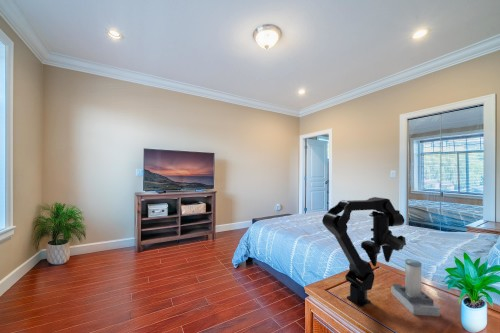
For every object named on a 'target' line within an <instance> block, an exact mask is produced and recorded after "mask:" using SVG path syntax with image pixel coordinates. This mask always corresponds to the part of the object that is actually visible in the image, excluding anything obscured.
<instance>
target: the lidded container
mask: <svg viewBox="0 0 500 333" xmlns="http://www.w3.org/2000/svg"><path fill="white" fill-rule="evenodd" d="M404 263H405V264H404V265H405V267H404V268H405V283H404V287H405V294H407V295H408V296H409V297H410V298H421V291H422V262H421V261H418V260H415V259H410V258H409V259H408V258H406V259H404Z"/></svg>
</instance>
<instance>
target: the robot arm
mask: <svg viewBox="0 0 500 333" xmlns="http://www.w3.org/2000/svg"><path fill="white" fill-rule="evenodd" d="M371 210H372V212H370V213H369V214H368V216H369V217H372V219H373V220H372V228H370V231H371V232H372V237H370V240H363V241H362V242H361V243H360V248H361V249H362V250H364V251H365V253H366V255H367V256H368V259H369V261H370V262H371V263H370V262H368V261H367V260H364V259H362V258H361V256H360V254H359V252H358V250H357V249H356V247H355V245H354V243H353V241H352V239H351V238H350V236H349V234H348V225H347V223H349V221H350V219H351V214H352V212H353V211H371ZM341 212H342V214H341V215H339V214H340V213H341ZM404 223H405V218H404V216H403V214H401V212H400V210H398V209H395V207H394V205H393V204H392V201H391V200H390V198H384V197H377V196H374V197H373V196H372V197H370V198H368V199H364V200H362V199H360V200H358V199H356V200H346V199H342V200H339V202H338V203H337V204H336V205H335V206H333V207H331V208H329V209H328V211H327V212H326V213H325V214H324V215H323V217H322V225H323V226H324V227H325V228H326V229H327V230H328V231H329V233H331V234H332V235H333V236H334V237H335V239H336V242H337V243H338V244H339V246H340V248H341V250H342V252H343V253H344V255H345V257H346V259H347V261H348V263H349V264H348V268H349V270H348V272H347V273H346V275H345V276H344V277H345V281H346V282H348V283H350V284H349V295H347V296H346V299H347V300H349V301H350V302H353V303H354V304H355V305H357V306H359V307H364V306H365V305H368V304H371V300H370V299H368V291H370V290H372V289H373V286H374V282H375V273H374V272H375V270H374V269H373V267H376V266H377V261H378V255H379V254H381V249H382V253H383V258H384V260H385V262H386V263H390V260H391V258H392V257H391V256H392V254H393V252H394V251H398V252H399V251H400V250H401V251H402V250H403V248H404V247H405V246H406V245H407V243H406V242H407V241H406V237H405V236H403V235H398V236H396V235H393V233H392V230H390V228H389V227H399V226H403V225H404ZM372 266H373V267H372Z"/></svg>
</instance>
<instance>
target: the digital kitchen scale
mask: <svg viewBox="0 0 500 333" xmlns="http://www.w3.org/2000/svg"><path fill="white" fill-rule="evenodd" d="M390 289H391V294H392V295H393V296H394V297H395V298H396V299H397V300H398V301H399V302H400V303H401V304H402V305H403V306H404V307H405V308H406V309H407V310H409V312H410V313H411V314H412V315H415V316H429V317H430V316H431V317H441V316H440V315H441V308H440V307H439V306H438V305H437V304H436V303H435V302H434V299H433V298H431V297H430V296H429V295H428V294H426V293H425V292H424V291H422V290H421V298H410V297H409V296H408V295H407V294H405V286H403V285H402V284H398V283H393V285H391V288H390Z"/></svg>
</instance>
